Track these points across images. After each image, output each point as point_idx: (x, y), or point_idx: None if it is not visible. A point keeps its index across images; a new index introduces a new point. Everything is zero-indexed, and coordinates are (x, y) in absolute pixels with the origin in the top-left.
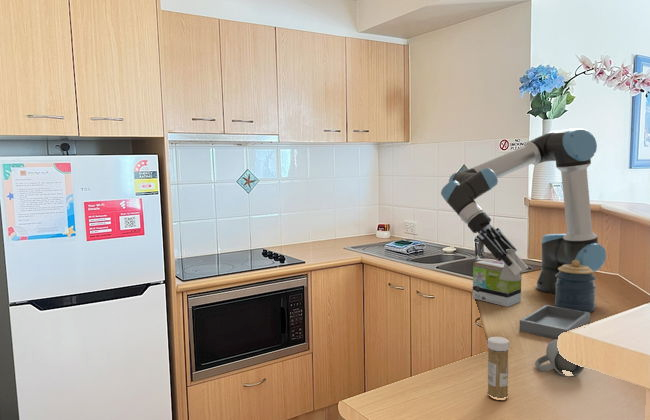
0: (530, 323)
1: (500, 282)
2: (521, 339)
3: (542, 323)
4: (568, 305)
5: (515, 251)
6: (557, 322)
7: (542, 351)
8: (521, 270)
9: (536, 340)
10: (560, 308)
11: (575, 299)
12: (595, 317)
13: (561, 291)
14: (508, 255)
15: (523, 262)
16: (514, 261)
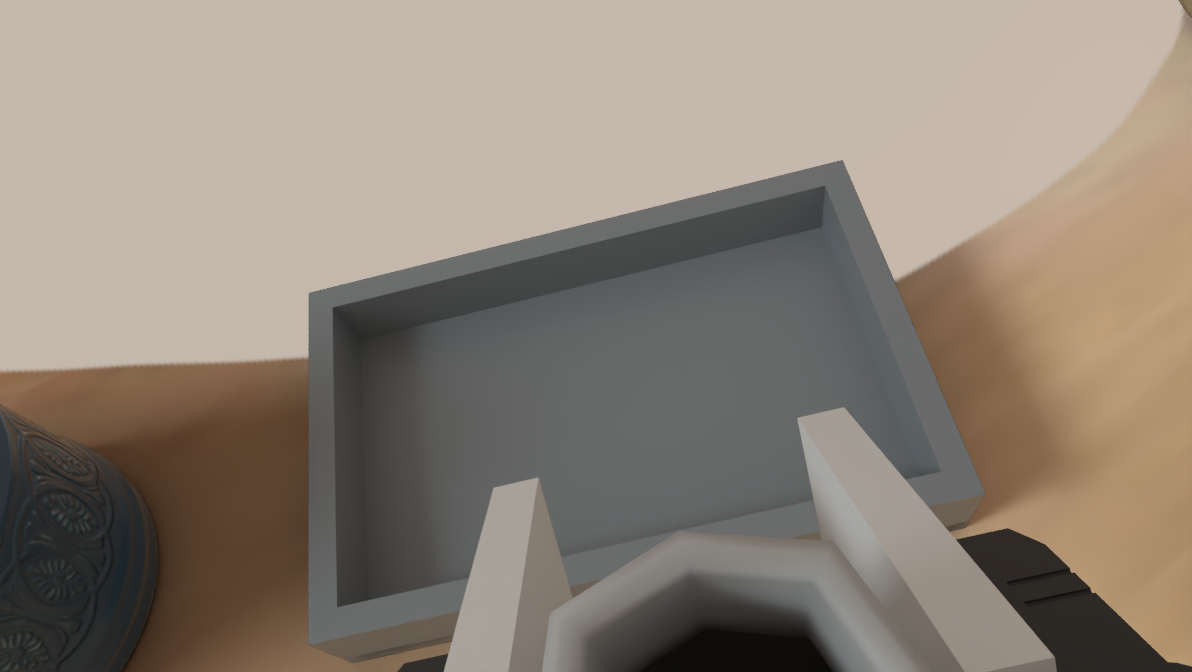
0: (944, 401)
1: None
2: (1114, 396)
3: (670, 485)
4: (127, 554)
5: (684, 543)
6: (549, 431)
7: (1154, 189)
8: (823, 420)
9: (1015, 325)
10: (336, 490)
11: (78, 483)
12: (183, 383)
13: (5, 605)
14: (1017, 639)
15: (501, 546)
16: (878, 518)
